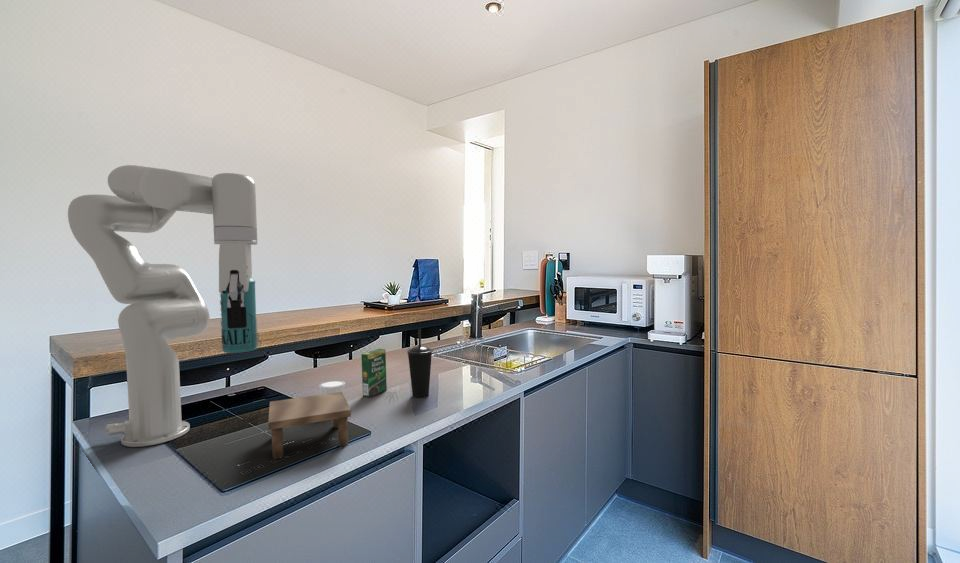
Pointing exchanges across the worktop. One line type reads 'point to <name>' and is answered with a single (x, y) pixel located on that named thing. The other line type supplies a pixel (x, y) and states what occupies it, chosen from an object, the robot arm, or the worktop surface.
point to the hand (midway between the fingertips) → (239, 324)
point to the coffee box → (374, 372)
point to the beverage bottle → (240, 337)
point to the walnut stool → (308, 416)
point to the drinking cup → (420, 369)
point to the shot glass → (332, 387)
